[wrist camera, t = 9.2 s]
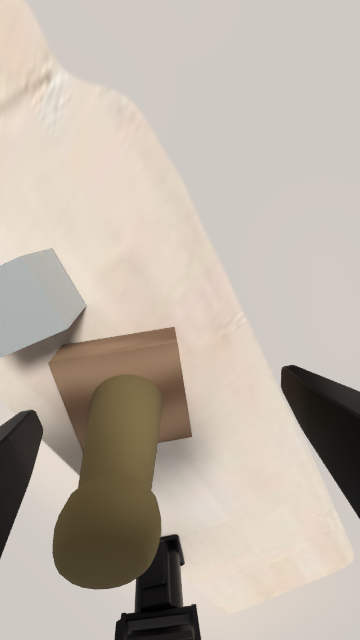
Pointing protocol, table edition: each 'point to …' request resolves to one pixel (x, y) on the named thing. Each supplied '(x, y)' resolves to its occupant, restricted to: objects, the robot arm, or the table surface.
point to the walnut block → (118, 359)
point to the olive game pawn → (113, 489)
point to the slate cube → (35, 300)
